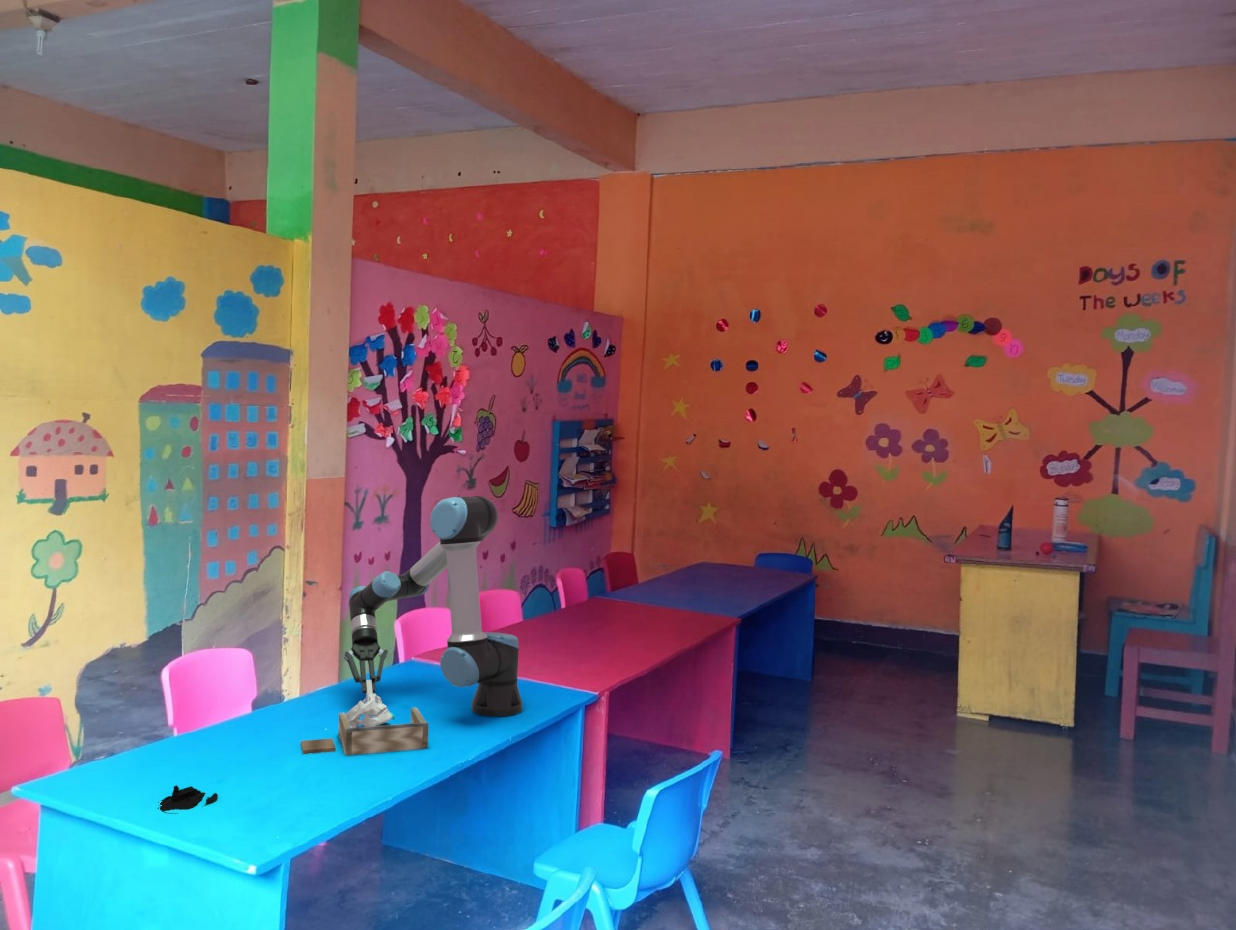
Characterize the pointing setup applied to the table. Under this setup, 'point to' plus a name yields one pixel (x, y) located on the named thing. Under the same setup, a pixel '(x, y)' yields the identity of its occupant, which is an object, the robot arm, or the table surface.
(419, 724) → the brown wooden box
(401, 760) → the table surface
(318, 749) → the lid plate
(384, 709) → the white rock
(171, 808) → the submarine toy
